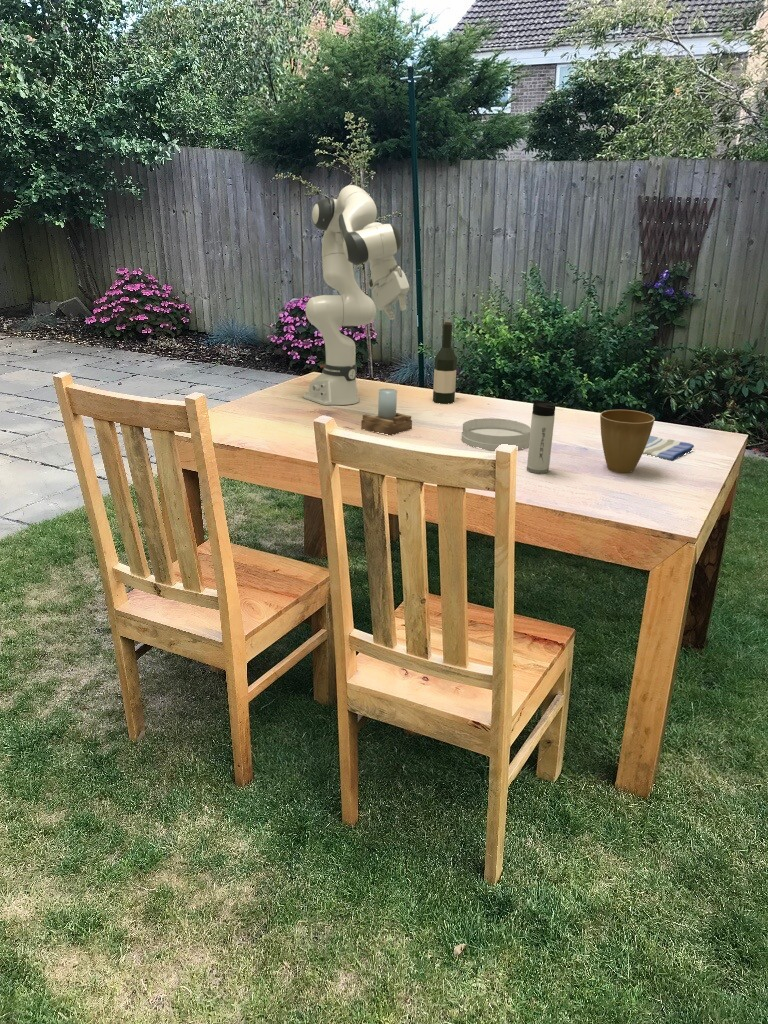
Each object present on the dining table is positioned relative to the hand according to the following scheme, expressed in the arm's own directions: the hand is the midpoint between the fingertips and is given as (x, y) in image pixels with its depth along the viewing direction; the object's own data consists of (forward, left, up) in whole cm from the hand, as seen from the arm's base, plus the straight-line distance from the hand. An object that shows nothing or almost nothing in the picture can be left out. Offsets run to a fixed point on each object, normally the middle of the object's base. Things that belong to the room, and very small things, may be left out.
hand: (398, 314), depth 258 cm
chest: (+4, -10, -36) cm, 38 cm away
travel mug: (+63, -13, -36) cm, 74 cm away
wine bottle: (-6, +36, -36) cm, 52 cm away
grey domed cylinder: (+4, -10, -33) cm, 35 cm away
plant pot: (+80, +5, -36) cm, 88 cm away
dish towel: (+77, +33, -37) cm, 92 cm away
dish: (+38, +4, -37) cm, 53 cm away
